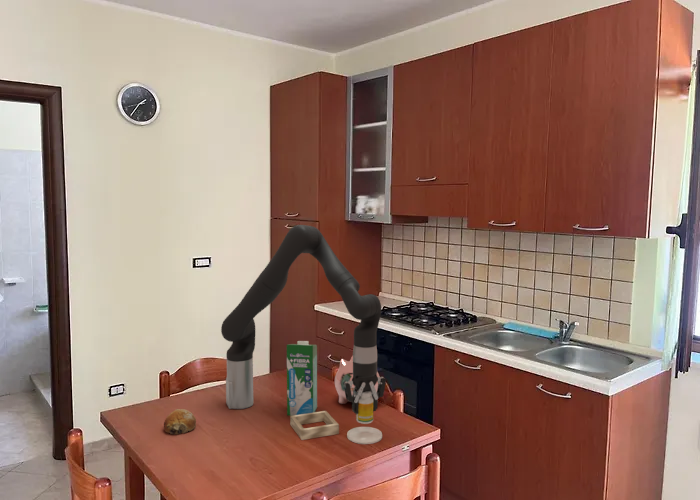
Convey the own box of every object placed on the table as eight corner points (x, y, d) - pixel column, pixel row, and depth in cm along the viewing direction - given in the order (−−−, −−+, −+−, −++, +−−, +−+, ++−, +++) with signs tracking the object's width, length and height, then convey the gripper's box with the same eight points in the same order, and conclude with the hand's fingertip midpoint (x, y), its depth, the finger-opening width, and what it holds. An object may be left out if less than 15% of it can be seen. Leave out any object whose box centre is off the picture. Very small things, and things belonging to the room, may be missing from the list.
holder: (301, 440, 171) (301, 430, 171) (290, 424, 183) (290, 415, 182) (338, 433, 176) (338, 424, 176) (325, 419, 187) (325, 410, 187)
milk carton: (317, 406, 199) (317, 338, 196) (313, 416, 190) (312, 345, 187) (292, 405, 199) (291, 337, 197) (287, 415, 190) (286, 344, 188)
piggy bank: (353, 390, 215) (353, 350, 214) (388, 402, 203) (389, 360, 201) (324, 401, 204) (324, 358, 203) (360, 414, 192) (360, 369, 190)
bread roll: (199, 438, 181) (205, 413, 183) (178, 436, 172) (185, 410, 174) (175, 432, 185) (182, 408, 187) (154, 430, 176) (161, 405, 179)
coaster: (355, 446, 167) (355, 444, 167) (341, 432, 177) (341, 429, 177) (388, 440, 171) (388, 438, 171) (373, 426, 181) (373, 424, 181)
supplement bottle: (353, 419, 175) (353, 389, 174) (368, 416, 177) (368, 387, 176) (361, 425, 170) (361, 395, 169) (376, 422, 172) (376, 392, 171)
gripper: (380, 353, 178) (380, 404, 180) (339, 358, 173) (339, 410, 174) (391, 359, 171) (390, 412, 173) (348, 365, 166) (347, 419, 167)
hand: (364, 411), depth 173 cm, fingers closed on supplement bottle, 5 cm apart
